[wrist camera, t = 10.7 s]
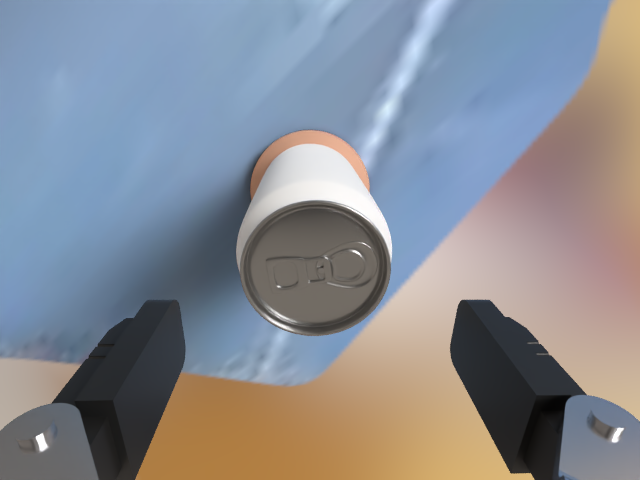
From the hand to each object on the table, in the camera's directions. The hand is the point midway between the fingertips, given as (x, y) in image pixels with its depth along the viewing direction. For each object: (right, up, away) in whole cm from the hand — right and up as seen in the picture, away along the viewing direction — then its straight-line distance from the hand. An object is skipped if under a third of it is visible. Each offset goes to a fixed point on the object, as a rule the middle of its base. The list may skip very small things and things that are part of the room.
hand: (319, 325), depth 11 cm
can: (-1, +6, +14) cm, 16 cm away
